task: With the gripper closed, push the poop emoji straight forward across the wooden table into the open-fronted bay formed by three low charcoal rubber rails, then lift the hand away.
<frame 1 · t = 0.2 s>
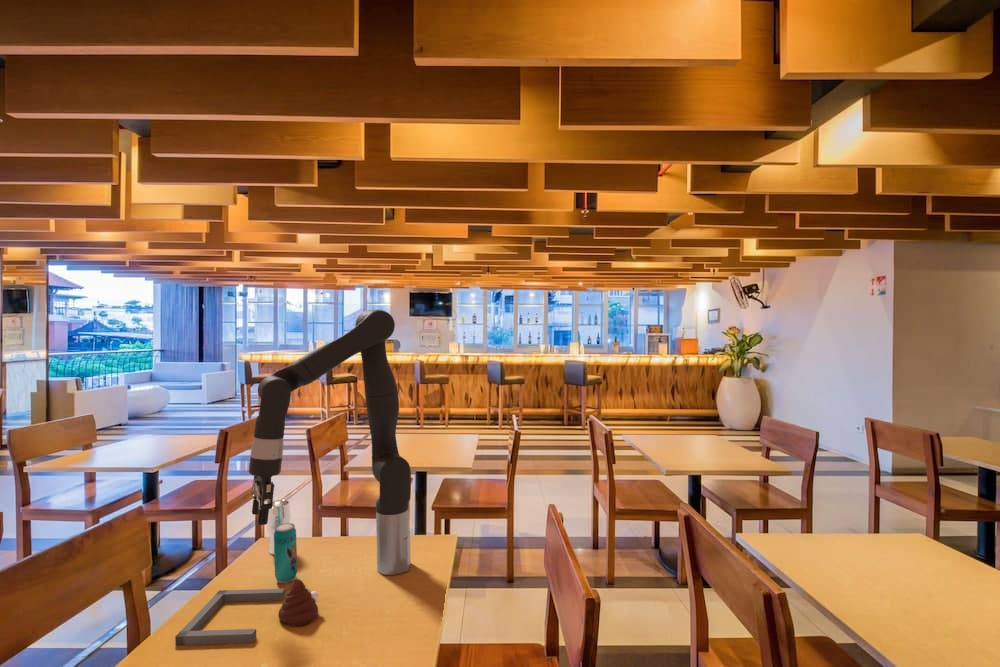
hand: (259, 519, 135), 22 cm above the table, tool pointing down, fingers open, 8 cm apart
poop emoji: (299, 618, 130), on the table
beverage can: (286, 580, 148), on the table
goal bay: (236, 618, 129), on the table
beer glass: (279, 551, 167), on the table
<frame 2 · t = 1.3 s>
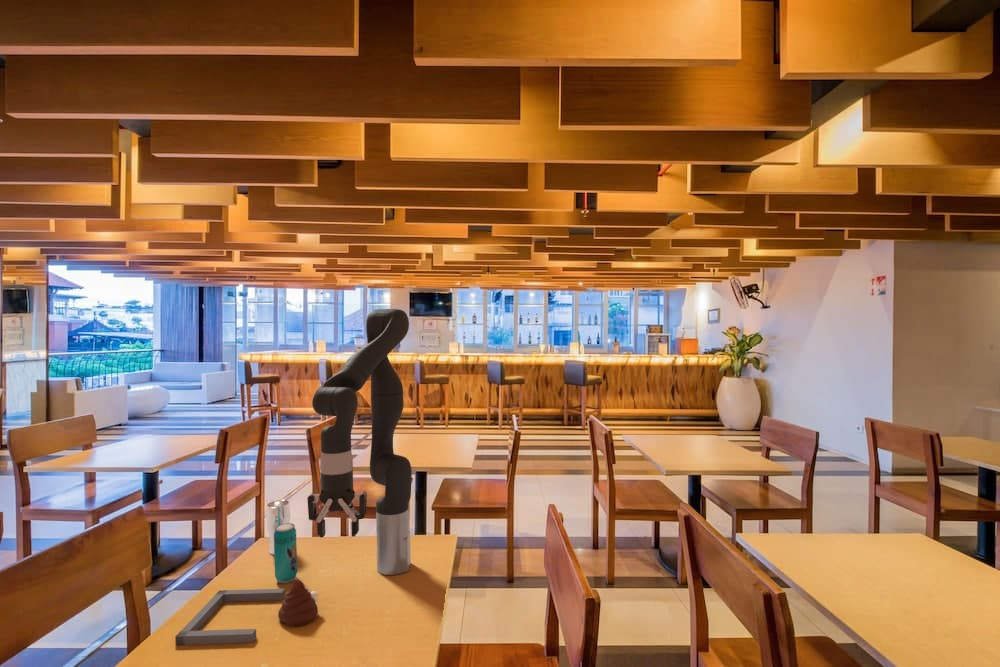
hand: (338, 535, 130), 20 cm above the table, tool pointing down, fingers open, 7 cm apart
nothing on the table moved.
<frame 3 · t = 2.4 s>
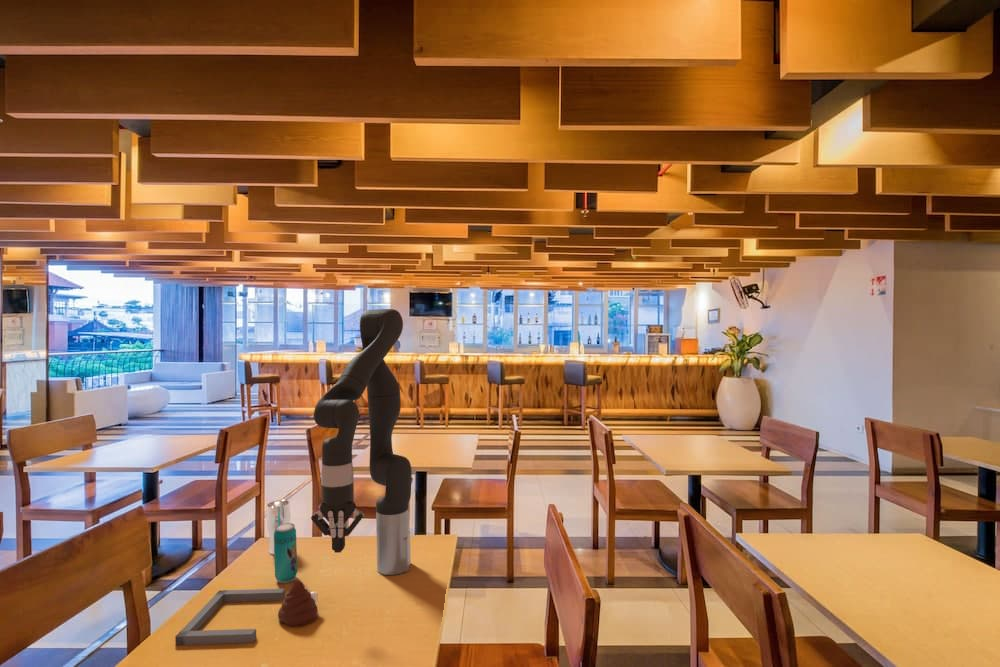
hand: (338, 551, 130), 16 cm above the table, tool pointing down, fingers closed
nothing on the table moved.
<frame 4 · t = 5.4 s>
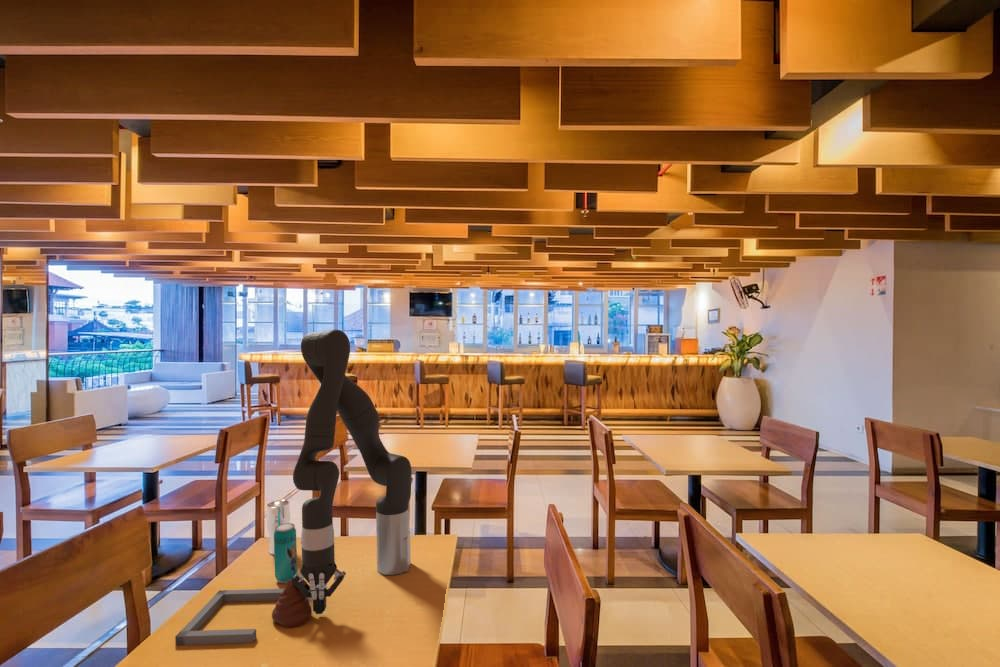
hand: (319, 612, 130), 1 cm above the table, tool pointing down, fingers closed
poop emoji: (292, 618, 129), on the table, touching gripper
everything else where it was.
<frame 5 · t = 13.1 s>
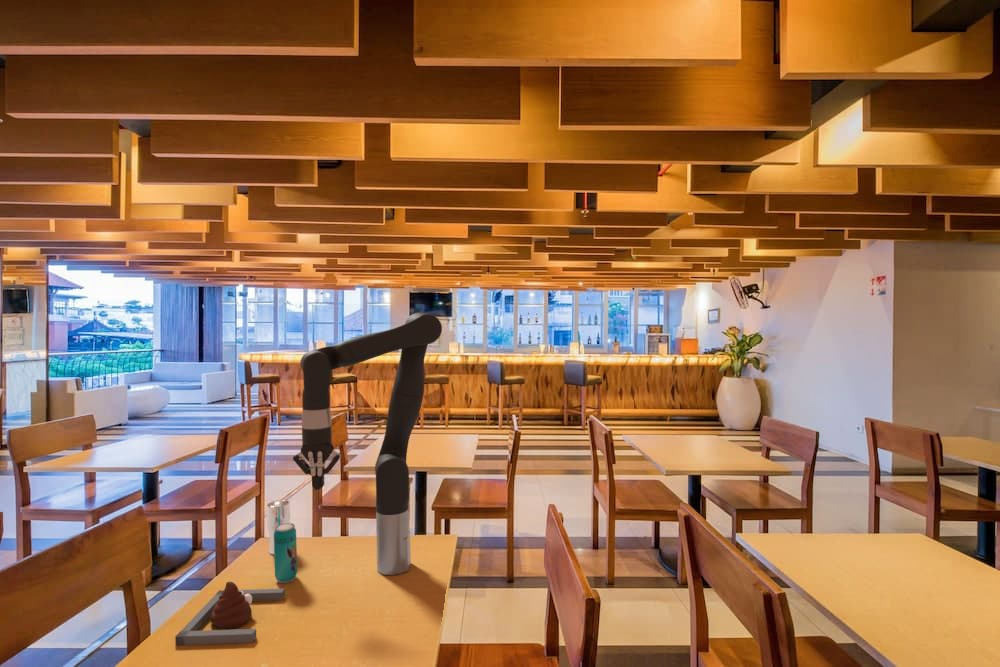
hand: (318, 488, 143), 27 cm above the table, tool pointing down, fingers closed
poop emoji: (232, 621, 129), on the table
everything else where it was.
at the end: poop emoji inside the target area on the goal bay (0.6 cm from its centre), point 0.0 cm above the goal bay's base; poop emoji tilted 0°; poop emoji moved 15.9 cm from its start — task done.
